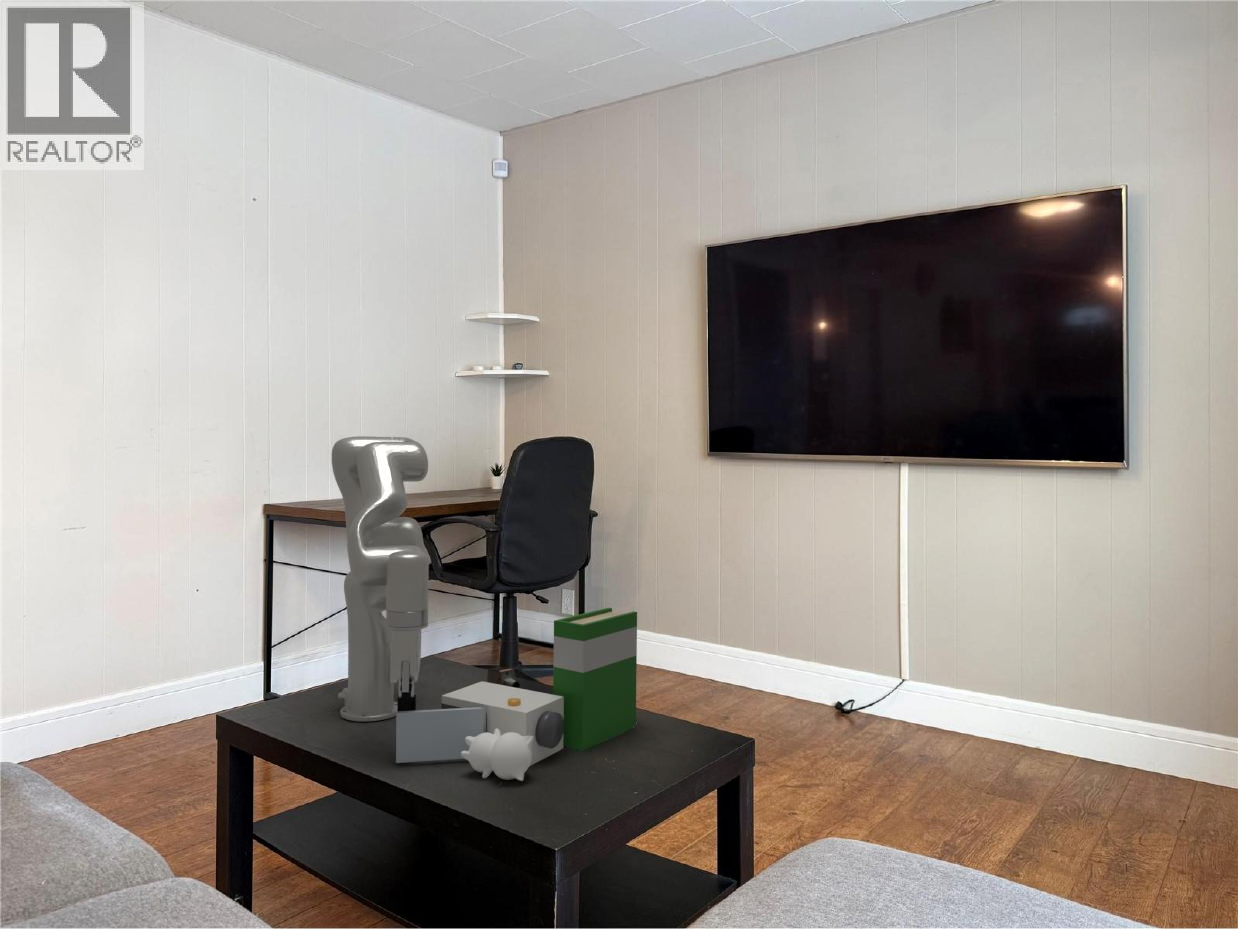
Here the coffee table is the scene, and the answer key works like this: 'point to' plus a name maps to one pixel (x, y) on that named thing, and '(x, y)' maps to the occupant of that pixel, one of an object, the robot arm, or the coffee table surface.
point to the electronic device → (502, 677)
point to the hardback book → (596, 675)
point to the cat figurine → (500, 754)
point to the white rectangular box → (516, 713)
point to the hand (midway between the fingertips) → (406, 717)
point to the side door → (436, 733)
